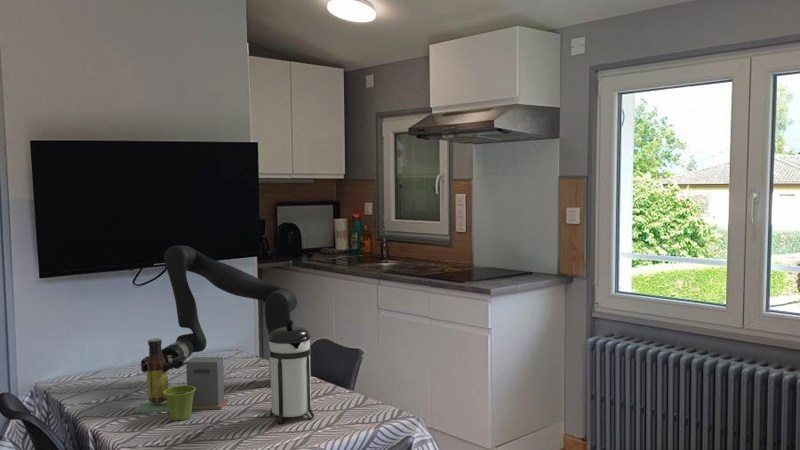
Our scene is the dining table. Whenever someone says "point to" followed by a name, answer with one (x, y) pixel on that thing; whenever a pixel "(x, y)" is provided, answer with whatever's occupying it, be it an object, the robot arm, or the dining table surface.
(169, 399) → the plant pot
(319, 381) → the dining table surface
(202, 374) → the charcoal unit
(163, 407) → the green mat
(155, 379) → the sauce bottle
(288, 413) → the coffee press
